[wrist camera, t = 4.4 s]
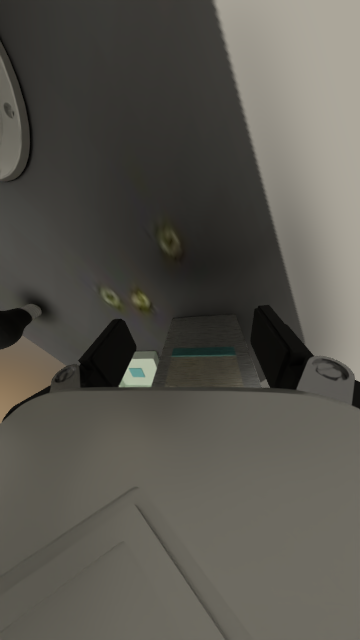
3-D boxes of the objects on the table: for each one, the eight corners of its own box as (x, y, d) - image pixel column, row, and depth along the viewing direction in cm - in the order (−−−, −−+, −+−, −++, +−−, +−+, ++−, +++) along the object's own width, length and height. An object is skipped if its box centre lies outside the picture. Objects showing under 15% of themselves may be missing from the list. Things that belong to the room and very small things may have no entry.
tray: (104, 352, 32) (99, 359, 30) (156, 351, 29) (153, 358, 28) (124, 384, 38) (121, 392, 36) (168, 386, 36) (166, 393, 34)
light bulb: (57, 305, 26) (-11, 343, 18) (52, 325, 29) (-7, 365, 21) (23, 286, 25) (-68, 317, 16) (22, 309, 28) (-55, 344, 19)
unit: (170, 316, 24) (128, 437, 10) (237, 311, 22) (294, 454, 8) (178, 349, 28) (155, 468, 14) (235, 348, 26) (271, 485, 12)
